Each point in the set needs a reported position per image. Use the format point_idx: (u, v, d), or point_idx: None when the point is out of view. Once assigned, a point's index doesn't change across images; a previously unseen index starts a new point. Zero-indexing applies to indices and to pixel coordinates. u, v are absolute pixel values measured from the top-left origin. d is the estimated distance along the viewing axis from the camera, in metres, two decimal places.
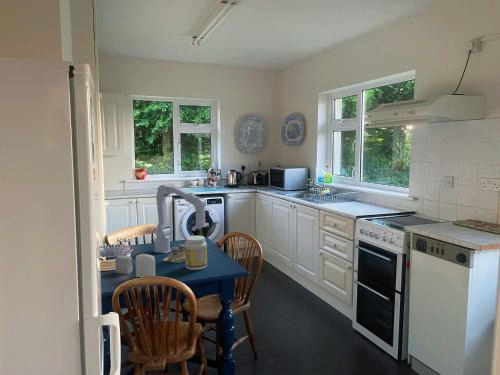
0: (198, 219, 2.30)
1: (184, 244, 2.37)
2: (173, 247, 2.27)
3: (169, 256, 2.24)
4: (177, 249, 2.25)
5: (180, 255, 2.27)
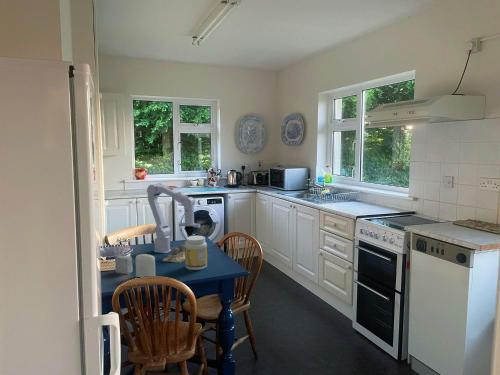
0: None
1: (184, 244, 2.37)
2: (173, 247, 2.27)
3: (169, 256, 2.24)
4: (177, 249, 2.25)
5: (180, 255, 2.27)
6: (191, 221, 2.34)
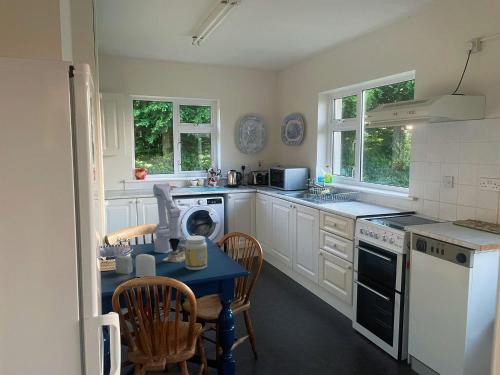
0: None
1: (184, 244, 2.37)
2: None
3: (169, 256, 2.24)
4: (177, 252, 2.25)
5: (180, 255, 2.27)
6: (176, 233, 2.23)
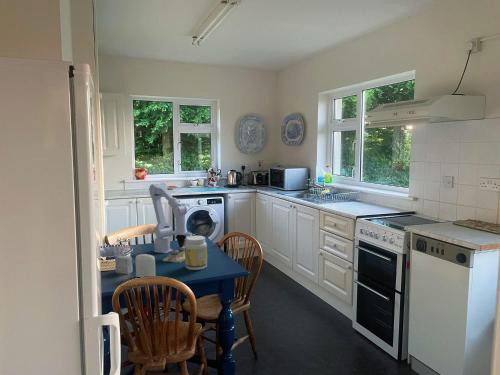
0: None
1: (184, 244, 2.37)
2: (173, 250, 2.27)
3: (169, 256, 2.24)
4: (177, 252, 2.25)
5: (180, 255, 2.27)
6: (182, 230, 2.29)
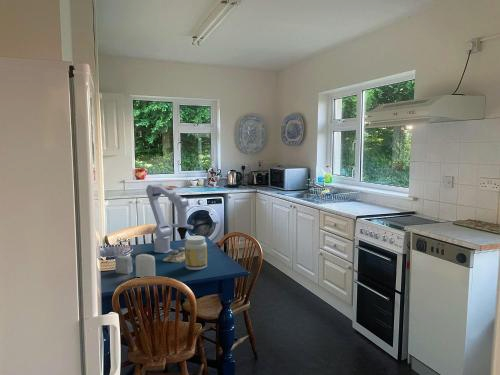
0: None
1: (184, 244, 2.37)
2: (173, 250, 2.27)
3: (169, 256, 2.24)
4: (177, 252, 2.25)
5: (180, 255, 2.27)
6: (184, 222, 2.30)
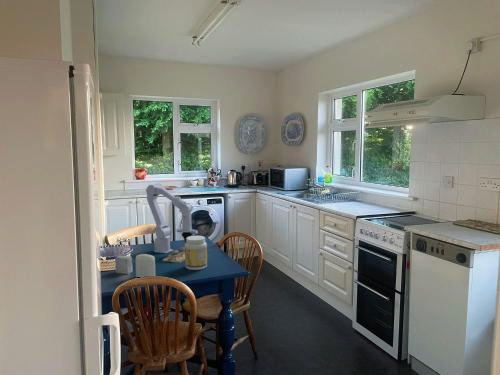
0: None
1: (184, 246, 2.38)
2: (173, 250, 2.27)
3: (169, 256, 2.24)
4: (177, 252, 2.25)
5: (180, 255, 2.27)
6: (188, 227, 2.35)
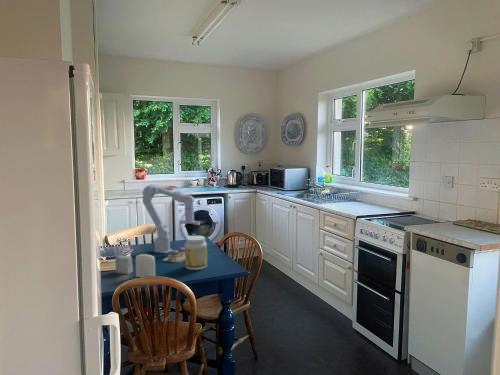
0: None
1: (184, 246, 2.38)
2: (173, 250, 2.27)
3: (169, 256, 2.24)
4: (177, 252, 2.25)
5: (180, 255, 2.27)
6: (191, 219, 2.41)
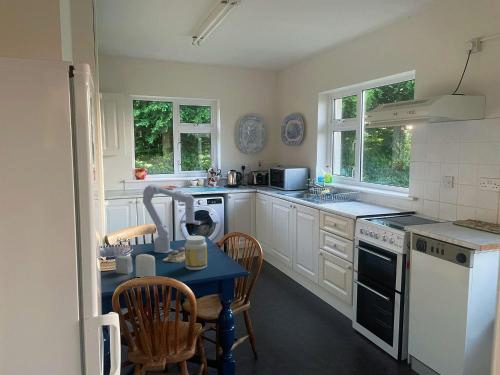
0: None
1: (184, 246, 2.38)
2: (173, 250, 2.27)
3: (169, 256, 2.24)
4: (177, 252, 2.25)
5: (180, 255, 2.27)
6: (191, 218, 2.42)
